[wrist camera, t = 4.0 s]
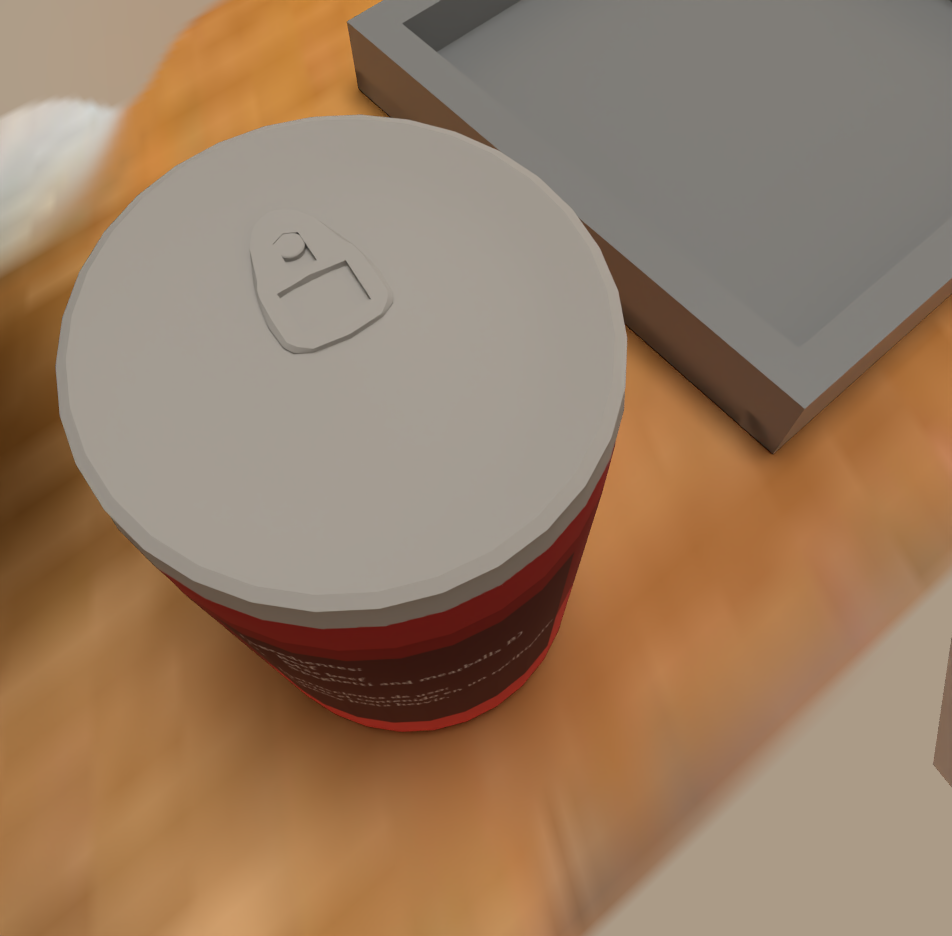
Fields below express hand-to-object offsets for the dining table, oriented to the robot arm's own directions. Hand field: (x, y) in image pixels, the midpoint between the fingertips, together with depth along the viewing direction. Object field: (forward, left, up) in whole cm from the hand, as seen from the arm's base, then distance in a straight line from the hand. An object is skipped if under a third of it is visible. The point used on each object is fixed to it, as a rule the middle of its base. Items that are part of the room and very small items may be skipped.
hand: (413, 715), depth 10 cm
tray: (-2, +23, -10) cm, 25 cm away
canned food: (-3, +4, -10) cm, 11 cm away
